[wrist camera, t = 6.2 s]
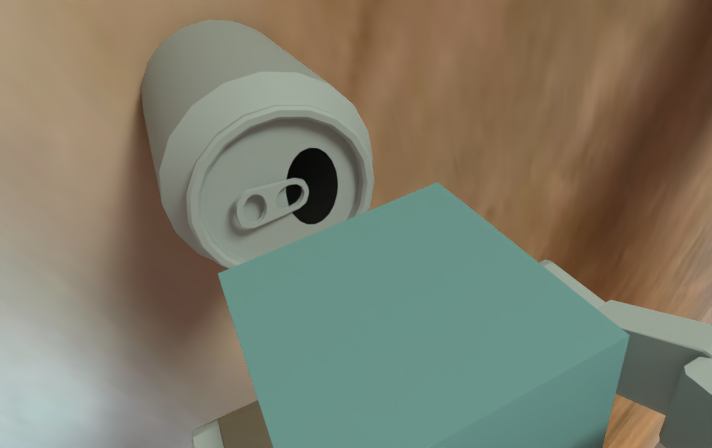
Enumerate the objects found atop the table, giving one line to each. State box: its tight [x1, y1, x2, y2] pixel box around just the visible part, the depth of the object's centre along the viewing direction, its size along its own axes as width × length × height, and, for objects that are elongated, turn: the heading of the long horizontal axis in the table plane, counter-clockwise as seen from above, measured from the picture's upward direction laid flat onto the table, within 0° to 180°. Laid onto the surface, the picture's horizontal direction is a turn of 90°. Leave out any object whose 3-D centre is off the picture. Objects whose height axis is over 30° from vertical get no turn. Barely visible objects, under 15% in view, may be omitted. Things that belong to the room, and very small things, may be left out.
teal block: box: [218, 182, 630, 448], centre depth 10 cm, size 5×5×5 cm
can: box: [141, 20, 374, 269], centre depth 20 cm, size 8×8×12 cm
